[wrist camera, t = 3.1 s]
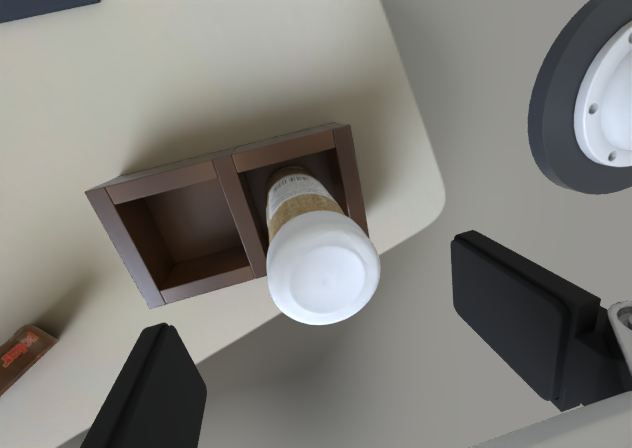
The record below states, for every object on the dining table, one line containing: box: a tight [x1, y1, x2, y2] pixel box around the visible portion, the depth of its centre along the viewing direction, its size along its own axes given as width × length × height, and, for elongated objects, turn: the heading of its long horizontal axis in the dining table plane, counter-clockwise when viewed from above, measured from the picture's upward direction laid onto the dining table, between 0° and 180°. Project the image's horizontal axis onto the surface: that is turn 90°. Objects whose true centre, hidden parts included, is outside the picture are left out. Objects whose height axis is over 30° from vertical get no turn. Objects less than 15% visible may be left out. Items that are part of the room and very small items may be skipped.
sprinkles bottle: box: [265, 166, 381, 325], centre depth 17 cm, size 5×5×13 cm
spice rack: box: [85, 122, 369, 309], centre depth 22 cm, size 17×9×4 cm, turn 102°
